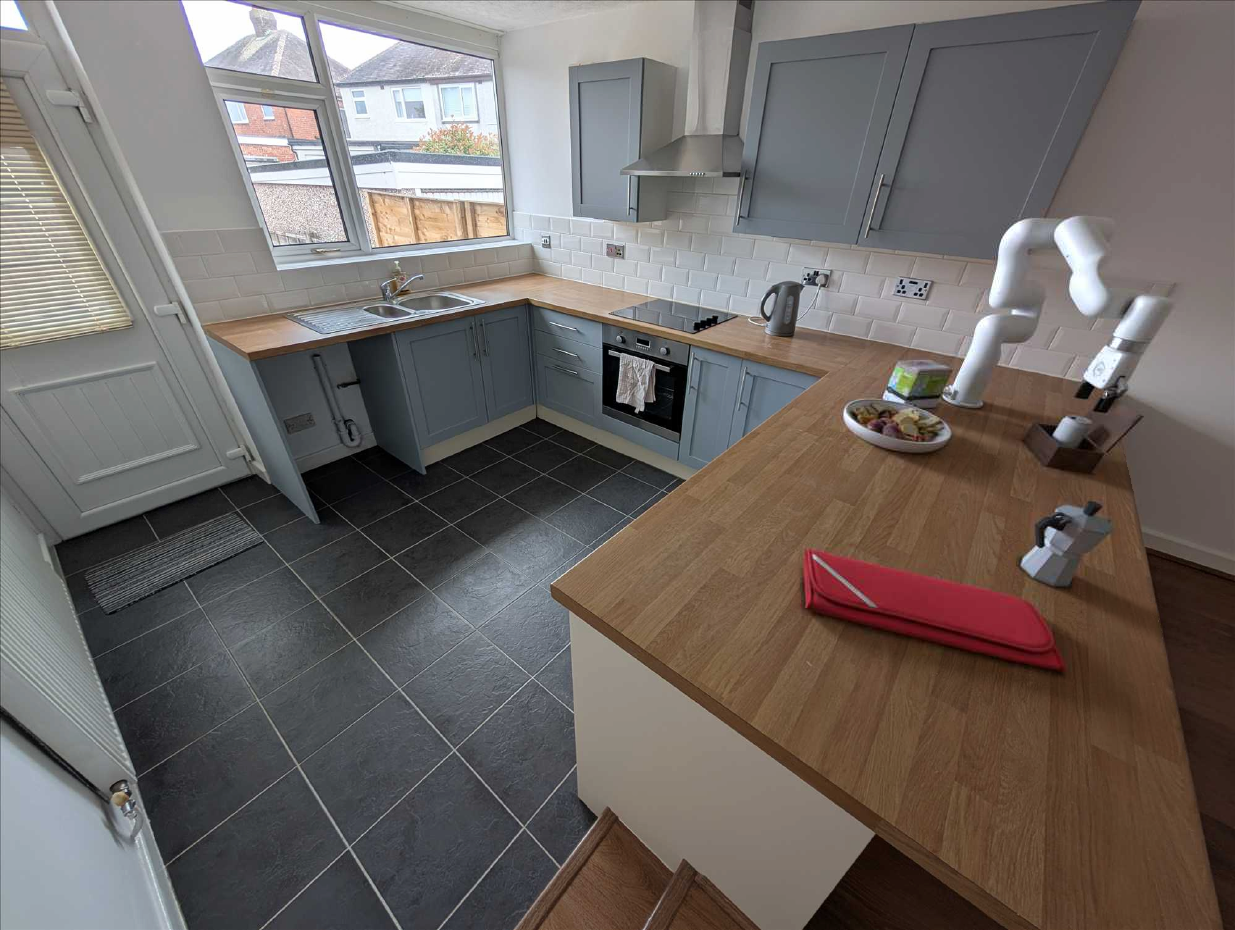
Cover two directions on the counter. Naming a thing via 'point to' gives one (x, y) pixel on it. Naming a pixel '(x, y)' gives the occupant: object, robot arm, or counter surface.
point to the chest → (1062, 450)
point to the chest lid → (1111, 424)
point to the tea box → (917, 383)
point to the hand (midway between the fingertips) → (1089, 404)
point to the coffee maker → (1065, 542)
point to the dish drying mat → (929, 609)
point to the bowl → (896, 425)
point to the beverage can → (1071, 431)
